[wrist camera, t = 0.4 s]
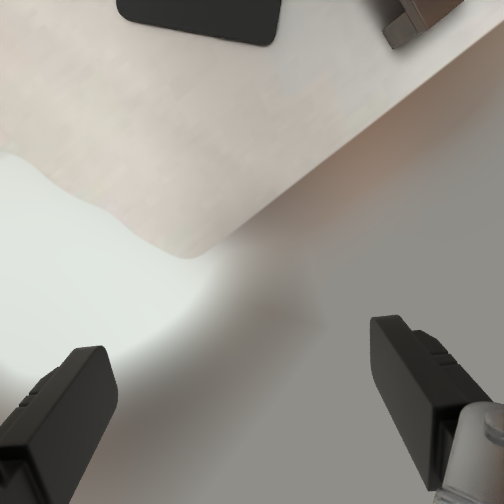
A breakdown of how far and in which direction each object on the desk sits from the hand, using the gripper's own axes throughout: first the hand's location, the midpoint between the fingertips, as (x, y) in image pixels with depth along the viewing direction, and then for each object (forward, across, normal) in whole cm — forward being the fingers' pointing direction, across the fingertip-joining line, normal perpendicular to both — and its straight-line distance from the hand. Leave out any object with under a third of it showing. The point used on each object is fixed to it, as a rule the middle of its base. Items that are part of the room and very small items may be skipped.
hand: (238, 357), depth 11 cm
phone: (+30, +2, -20) cm, 36 cm away
